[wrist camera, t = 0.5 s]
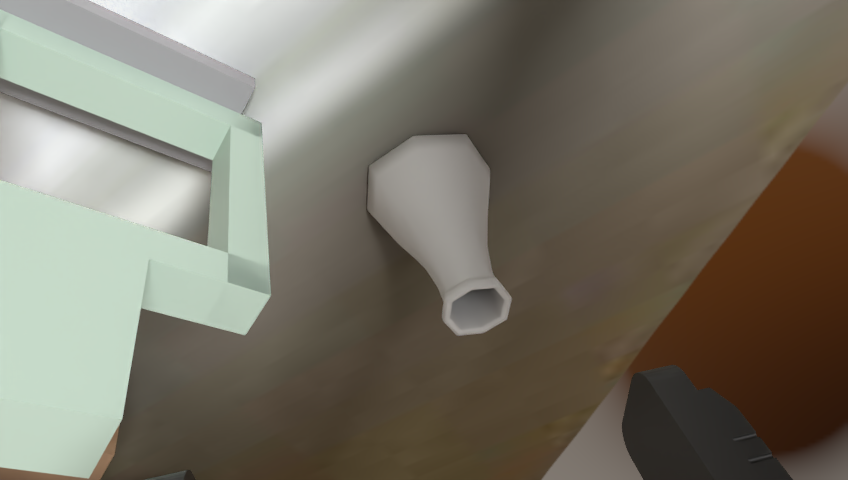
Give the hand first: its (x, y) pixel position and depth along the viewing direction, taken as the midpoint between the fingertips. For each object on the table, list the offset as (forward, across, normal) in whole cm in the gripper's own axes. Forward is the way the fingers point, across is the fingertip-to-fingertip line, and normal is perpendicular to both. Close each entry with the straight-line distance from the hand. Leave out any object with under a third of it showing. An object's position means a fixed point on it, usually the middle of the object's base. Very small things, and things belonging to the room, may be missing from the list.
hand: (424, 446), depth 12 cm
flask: (+23, -5, +9) cm, 26 cm away
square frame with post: (+23, +8, +1) cm, 24 cm away
